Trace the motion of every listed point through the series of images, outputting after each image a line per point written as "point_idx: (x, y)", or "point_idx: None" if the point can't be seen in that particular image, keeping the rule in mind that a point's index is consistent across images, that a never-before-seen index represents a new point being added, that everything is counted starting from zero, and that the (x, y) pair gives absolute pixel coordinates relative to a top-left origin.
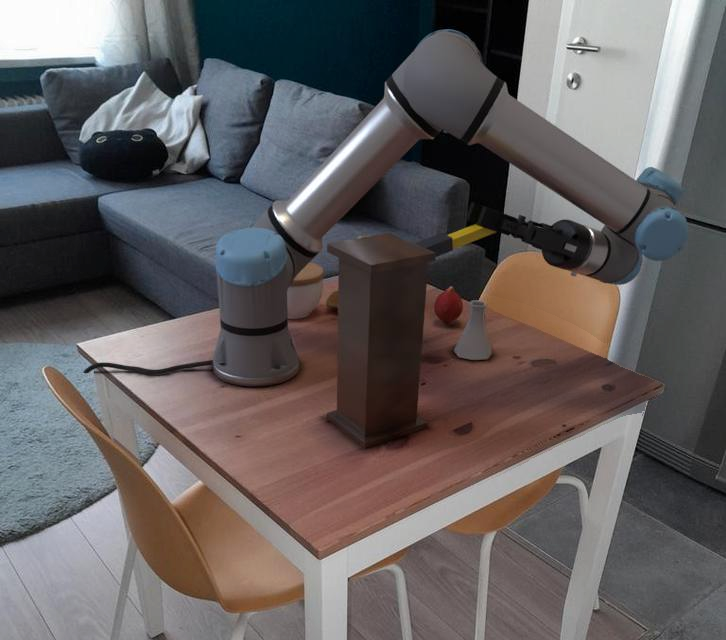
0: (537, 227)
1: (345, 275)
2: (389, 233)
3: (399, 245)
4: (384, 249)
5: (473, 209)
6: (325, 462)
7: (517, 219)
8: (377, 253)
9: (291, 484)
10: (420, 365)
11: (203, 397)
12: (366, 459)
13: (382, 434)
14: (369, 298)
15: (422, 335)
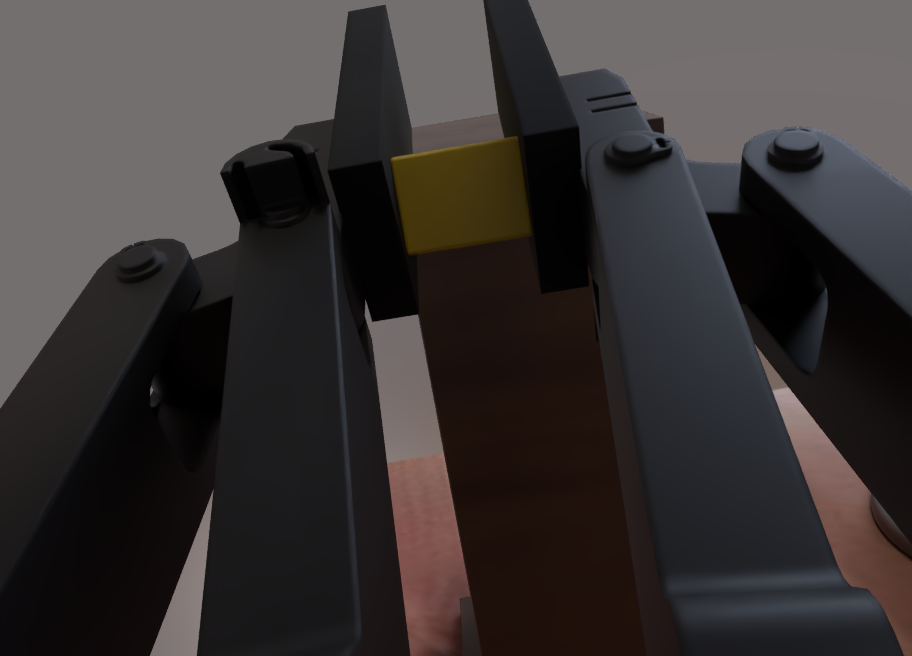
0: (78, 302)
1: None
2: (655, 117)
3: (491, 136)
4: (473, 130)
5: (488, 35)
6: (456, 540)
7: (611, 310)
8: (449, 129)
9: (422, 490)
10: (468, 581)
11: (825, 434)
12: (418, 600)
13: (474, 640)
14: None
15: (450, 481)
